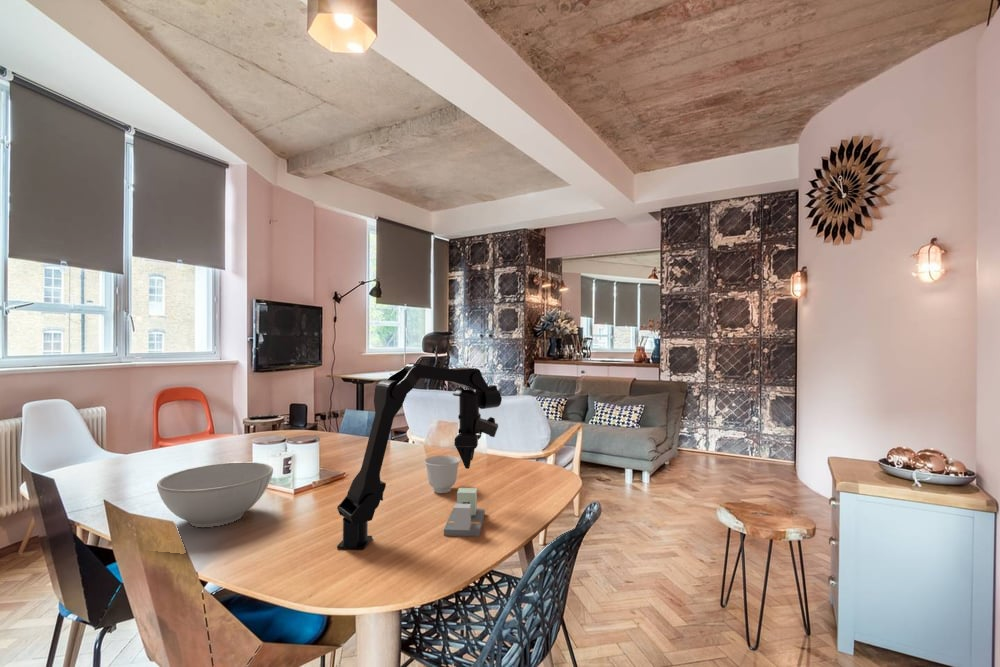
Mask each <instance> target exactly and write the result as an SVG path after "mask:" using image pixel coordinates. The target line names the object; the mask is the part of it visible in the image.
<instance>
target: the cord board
mask: <svg viewBox="0 0 1000 667" xmlns="http://www.w3.org/2000/svg"><path fill="white" fill-rule="evenodd" d="M485 509H486V508H477V511H476V515H471V504H470V502H464V504H457V503H455V504H454V507H453V508H452V510H451V513H450V514H449V517H448V518H447V521H446V525H445V527H444V529H443V536H444V537H445V536H447V537H448V536H449V537H476V538H477V537H480V535H481V531H482V527H483V523H484V518H485V514H486V510H485Z"/></svg>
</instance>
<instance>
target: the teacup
mask: <svg viewBox="0 0 1000 667" xmlns="http://www.w3.org/2000/svg"><path fill="white" fill-rule="evenodd" d="M461 461H462V459H461V458H460V457H457V456H455V455H453V454H449V455H435V456H430V457H427V458H426V459H424V461H423V462H424V464H425V465H426V466H425V467H426V473H427V480H428V484H429V485H430V486H431V487H432V488H433V492H434V493H437V494H446V493H449V492H451V491H452V488H451V487H453V486H454V485H455V484H456V482H457V477H458V470H459V463H460V462H461Z"/></svg>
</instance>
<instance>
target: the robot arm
mask: <svg viewBox="0 0 1000 667" xmlns="http://www.w3.org/2000/svg"><path fill="white" fill-rule="evenodd" d="M420 379H426V380H434V381H443V382H448V383H451V384H453V385H456V386H458V387H457V389H456V390H455V391H454V392H453V393H452V396H453V397H454V396H455V397H459V398H458V400H459V405H458V406H459V411H458V412H459V414H458V417H457V418H458V420H459V422H458V424H459V426H458V430H457V431H458V434H457V435H456V436H455V437H454V447H455V448H456V450H457V452H458V454H459V456H460V457H459V458H460V460H461V461H462V464H463V467H464V468H465V469H467V470H469V469H470V468H471V467H470V466H471V461H473V460H474V454H475V449H477V447H478V445H479V440H480V439H481V437H482V435H483V434H486V435H488V436H489V437H491V438H495V436H496V434H497V432H498V431H497V430H499V429H498V428H499V423H498V422H497V423H496V419H495V418H494V417H492V416H489V417H488V418H487V419H485V418H482V417H481V414H480V411H479V410H483V409H492V408H498V407H500V406H501V404H502V396H501V392H500V391H499V390H498V386H497V385H495V384H491V385H488V383H487V382H486V380H485V378H484V377H483V374H482V372H481V369H479V368H475V367H454V368H453V367H452V368H446V367H439V366H432V365H425V364H421V363H420V362H419V363H417V362H415V363H414V362H409V363H407V364H406V365H405V366H404V367H402V368H401V369H400V370H398V371H397V372H395V373H393V374H392V375H390V376H388V377H387V378H386V379H382V380H380V381H379V382H378V383H377V384H376V385H375V387H374V393H373V394H374V395H373V406H374V417H373V421H372V425H371V429H370V433H369V437H368V441H367V445H366V449H365V452H364V456H363V460H362V463H361V467H360V470H359V471H358V473H357V474H356V475H355V477H354V478H353V480H352V481H351V484H350V486H349V489H348V491H347V495H346V496H345V497H344V498H343V499H342V501H341V502H340V503H339V505H338V506H337V508H336V510H337V511H338V514H339V515H340V516H342V540H341V541H340V542H339V543H338V544H337V545H336V549H337V550H338V549H341V550H342V549H344V550H364V549H365V548H366V547H367V546H368V544H369V543H370V542H371V541H372V539H373V535H368V533H369V532H368V530H369V529H368V527H369V523H368V522H370V521H372V520H373V518H374V514H375V513H376V512H375V511H376V509H378V507H379V505H380V503H381V502H382V501H384V498H383V497H384V492H385V490H386V487H387V486H386V485H387V484H386V482H384V481H382V480H381V469H382V466H383V462H384V458H385V455H386V450H387V448H388V447H387V446H388V441H389V439H390V435H391V430H392V428H393V427H392V426H393V423H394V418H395V416H396V415H397V414H398V412H399V411H400V410H401V408H402V407H403V405H404V402H405V400H406V397H407V394H408V393H410V392H411V391H412V390H413V389H414V388H415V386H416V384H417V382H418V381H419V380H420ZM459 386H460V387H459ZM465 388H466V389H465Z"/></svg>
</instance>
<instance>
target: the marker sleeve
mask: <svg viewBox="0 0 1000 667" xmlns="http://www.w3.org/2000/svg"><path fill="white" fill-rule="evenodd" d="M464 502H470V504H471V515H476V511H477V509H478V488H476V487H475V488H473V487H459V488H458V489H457V492H456V504H464Z"/></svg>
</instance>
